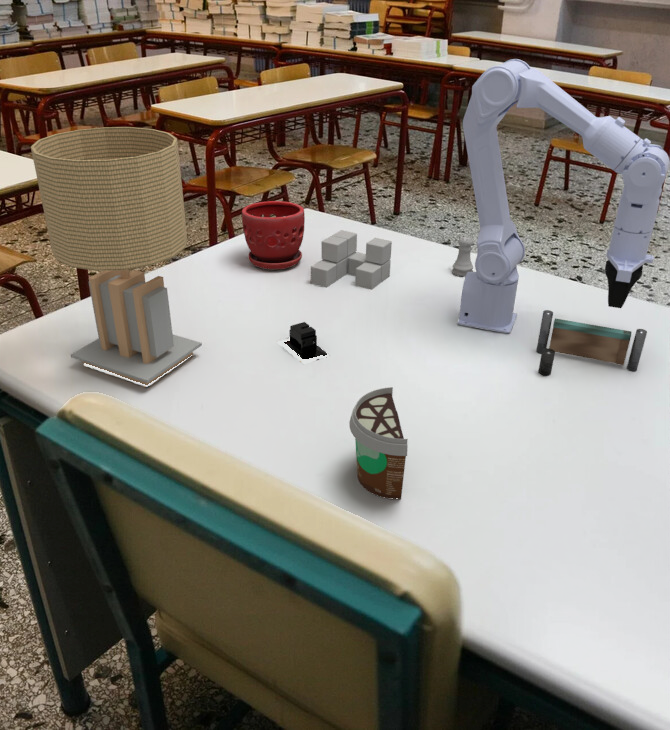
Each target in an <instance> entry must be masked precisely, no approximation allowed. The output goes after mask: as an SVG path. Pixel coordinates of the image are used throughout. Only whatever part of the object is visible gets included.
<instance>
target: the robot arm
mask: <svg viewBox="0 0 670 730" xmlns="http://www.w3.org/2000/svg"><path fill="white" fill-rule="evenodd" d="M515 105H516V109H529V108H530V109H532V108H533V109H534V108H535V109H536V108H537V109H541V110H542V111H543V112H545V113H546V114H548V115H549V116H551V117H553V118H554V119H555V120H557V121H558V122H559V123H561V124H563V125H565V126H566V127H567V128H569V129H570V130H572V131H573V132H574V133H577V134H578V135H580V137H581V138H582V143H583V144H582V146H583V148H584V150H585V151H587V152H588V153H590V154H591V155H592V156H594V157H595V158H596V159H597V160H599V161H600V162H601V163H602V164H604V165H606V167H608V168H610V169H611V170H612V171H614V172H615V173H617V174H621V177H622V181H623V184H624V185H623V190H622V194H621V195H620V198H619V202H618V206H617V210H616V211H617V212H616V214H615V215H616V216H615V220H614V224H613V228H612V233H611V239H610V242H609V247H608V249H607V250H606V254H605V256H606V258H607V260H606V261H605V267H604V272H605V275H606V278H607V279H606V280H607V287H608V289H607V292H608V293H607V303H608V307H611V308H616V309H622V308H623V307H624V305H625V303H626V300H627V298H628V296H629V294H630V293H631V290H632V288H633V287H634V285H635V284H636V283H637V282H638V281H639V280H640V279H641V277H642V275H643V268H644V264H653V263H654V260H655V256H654V255H653V254H648V251H649V248H650V247H649V246H650V242H651V239H652V234H653V230H654V226H655V223H656V218H657V216H658V215H657V214H658V212H659V211H658V210H659V206H660V201H661V200H660V197H661V196H662V193H663V185H664V183H665V180H666V177H667V175H668V172H669V169H670V157H669V155H668V153H667V152H666V151H665V150H664V149H663V147H662V146H661V145H659V144H652V142H651V140H650V139H648V138H647V137H646V138H644V139H642V138H641V137H640V136H639V135H637V134H636V133H634V132H633V131H632V130H630V129H629V128H627V127H626V126H625V123H626V121H625V119H623V118H622V117H621V116H618V117H617V118H613V117H612V116H611V115H608V116H607V115H606V116H599V117H598V116H595V114H593V113H592V112H591V111H589V110H588V109H587V108H586V107H585V106H584V105H582V104H581V103H580V102H578V101H577V100H576V99H575V98H573V97H572V95H570V94H569V93H567V92H566V91H565V90H564V89H562V88H561V87H560V86H559V85H557V84H556V83H555V82H554V81H552V79H550V78H549V77H548V76H546V75H545V74H544V73H543V72H542V71H541V70H539V69H537V68H534V67H531V66H530V65H529V64H528V63H527V62H526V61H523V60H521V59H518V58H513V59H509V60H506V61H505V62H503V63H501V64H498V65H492V66H490V67H489V68H487V69H486V70H485V71H484V72H482V74H481V75H480V76H479V77H478V78H477V80H476V81H475V82H474V83H473V85H472V86H471V95H470V99H469V102H468V105H467V108H466V110H465V113H464V117H463V120H462V127H463V134H464V141H465V146H466V152H467V157H468V163H469V164H468V165H469V171H470V176H471V181H472V186H473V193H474V198H475V199H474V200H475V206H476V210H477V211H476V212H477V216H478V223H479V232H478V235H477V241H476V249H477V254H476V255H477V256H476V258H475V262H474V268H475V271H473V272H467V274H466V276H465V277H464V279H463V284H462V291H461V298H460V307H459V314H458V315H459V316H458V321H457V324H458V325H459V326H460V325H461V326H465V327H471V328H477V329H482V330H486V331H487V330H488V331H491V332H497V333H503V334H511V332H512V329H513V326H514V323H515V321H516V318H517V316H518V314H517V313H516V312H514V310H515V309H514V308H515V303H516V296H517V289H518V284H519V283H518V282H519V277H520V276H519V272H518V268H517V266H518V265H520V263H521V262H522V261H523V259H524V257H525V254H526V247H525V244H524V242H523V240H522V239H521V238H520V236H519V234H518V229H517V225H516V224H515V222H514V221H513V220H512V219H511V213H510V207H509V201H508V194H507V189H506V188H507V187H506V180H505V174H504V167H503V162H502V155H501V148H500V142H499V135H498V129H497V128H498V127H497V126H498V125H499V124H500V122H501V121H502V120H503V118H504V117H505V115H506V114H507V113H508V112H509V110H510V109H511V108H512V107H513V106H515Z"/></svg>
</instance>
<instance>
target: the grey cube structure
mask: <svg viewBox="0 0 670 730" xmlns="http://www.w3.org/2000/svg"><path fill="white" fill-rule="evenodd" d="M357 243H358V234H357V233H356V232H353V231H347V230H343V229H342V230H339V231H337V232H336V233H334V234H332V235H330V236H329V237H327V238H325V239H323V240H322V241H321V260H320V261H318V262H315V263H314V264H313V265H311V266H310V284H311V285H315V286H319V287H322V288H328V287H330V286H331V285H334V284H335V283H337V281H339V280H341V279H342V278H344V277H345V276H347V275H349V276H353V277H354V278H355V279H354V285H355V286H356V287H359V288H363V289H364V288H365V289H367V290H374V289H375V288H377V287H378V286H379V285H380V284H381V283H383V282H384V281H386V280H387V279H388V278H390V277H391V262H392V261H391V258H392V243H393V242H392V240H387V239H384V238H379V237H374V238H372V239H371V240H368V242H366V245H365V253H364V252H357V249H358V248H357V247H358V244H357Z"/></svg>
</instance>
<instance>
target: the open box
mask: <svg viewBox="0 0 670 730" xmlns="http://www.w3.org/2000/svg"><path fill="white" fill-rule="evenodd" d="M631 338H632V331H631V330H624V329H620V328H619V329H618V328H613V327H608V326H607V327H606V326H602V325H596V324H592V323H591V324H590V323H585V322H584V323H583V322H579V321H574V320H568V319H567V320H566V319H561V318H557V317H555V318H554V320H553V326H552V331H551V336H550V340H549V347H548V348H549V349H553V350H554V351H555V353H557V354H558V353H559V354H563V355H568V356H575V357H579V358H585V359H589V360H595V361H602V362H606V363H611V364H615V365H617V366H618V365H619V366H624V365H625V360H626V357H627V354H628V349H629V346H630V342H631Z"/></svg>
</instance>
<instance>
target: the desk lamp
mask: <svg viewBox="0 0 670 730" xmlns="http://www.w3.org/2000/svg"><path fill="white" fill-rule="evenodd" d="M30 150H31V156H32V160H33V165H34V170H35V174H36V178H37V184H38V189H39V194H40V199H41V202H42V203H41V204H42V208H43V212H44V220H45V223H46V228H47V233H48V236H49V242H50V247H51V252H52V254H53V256H54V258H55V260H56V261H57V262H59V263H62V264H64V265H65V266H68V267H70V268H75V269H82V270H90V271H94V272H95V271H96V272H97V271H99V272H98V273H96V274H94V275H92V276H90V277H88V280H89V281H88V286H89V292H90V298H91V303H92V308H93V313H94V319H95V325H96V330H97V335H98V338H97V339H95V340H94V341H92V342H90V343H89V344H87V345H84V346H83V347H82V348H80V349H78V350H76V351H75V352H73V353H71V354H70V358H71V359H76V360H78V361H81V362H82V364H83V363H86V364H89V365H92V366H95V367H98V368H100V369H104V370H107V371H109V372H112V373H115V374H117V375H120V376H122V377H125V378H128V379H130V380H133V381H136V382H140V383H142V384H145V385H148V384H149V383H151V382H152V381H154V380H156V379H157V378H158V377H160V376H162V375H163V374H164V373H166V372H167V371H169V370H170V369H172V368H173V367H175V366H177V365H178V364H179V363H181V362H182V361H184V360H185V359H187V358H188V357H190V356H191V355H193V356H194V352H195V351H196V350H198V349H199V348H200V347H201V346H203V344H202V342H200V341H197V340H193V339H189V338H186V337H183V336H180V335H177V334H173V327H172V318H171V311H170V310H171V309H170V301H169V293H168V287H165V283H164V282H165V281H164V276H160V275H158V276H155V277H154V278H152V279H149V280H148V281H146V278H145V277H146V276H145V275H146V274H145V272H144V271H140V270H138V268H142V267H149V266H153V265H156V264H159V263H162V262H164V261H167V260H169V259H173V258H174V257H176V256H177V255H178V254H179V253H181V252H183V251H184V250H185V249H186V247H187V242H188V232H187V223H186V213H185V203H184V193H183V191H184V190H183V184H182V182H183V181H182V173H181V163H180V153H179V143H178V138H177V137H176V136H174V135H173V134H171V133H170V132H166V131H162V130H157V129H154V128H144V127H143V128H142V127H132V126H127V127H126V126H119V127H116V126H115V127H113V126H112V127H109V126H108V127H107V126H106V127H96V128H86V129H83V128H81V129H76V130H71V131H65V132H60V133H59V132H58V133H55V134H52V135H49V136H46V137H43V138H40V139H38V140H37V141H35V142H34V143H33V144H32V145H31V146H30ZM132 269H133V270H132Z"/></svg>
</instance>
